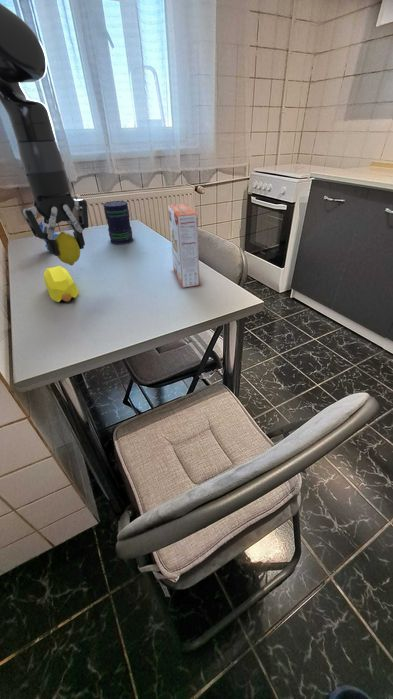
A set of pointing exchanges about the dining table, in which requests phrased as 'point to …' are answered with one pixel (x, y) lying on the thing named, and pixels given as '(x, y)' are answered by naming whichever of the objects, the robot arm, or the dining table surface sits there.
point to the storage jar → (118, 222)
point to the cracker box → (184, 244)
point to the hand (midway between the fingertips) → (68, 251)
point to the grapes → (42, 231)
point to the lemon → (67, 248)
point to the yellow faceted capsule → (60, 284)
